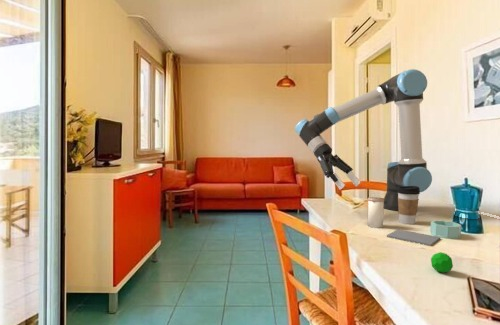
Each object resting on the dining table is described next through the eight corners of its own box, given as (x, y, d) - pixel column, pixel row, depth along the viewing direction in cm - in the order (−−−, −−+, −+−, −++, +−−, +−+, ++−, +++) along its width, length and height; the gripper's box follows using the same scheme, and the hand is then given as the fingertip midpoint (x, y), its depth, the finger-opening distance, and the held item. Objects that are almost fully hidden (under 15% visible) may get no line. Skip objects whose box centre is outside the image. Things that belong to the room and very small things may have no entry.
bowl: (434, 230, 124) (435, 219, 124) (462, 235, 118) (463, 223, 117) (427, 235, 117) (428, 223, 117) (456, 241, 111) (457, 228, 111)
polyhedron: (444, 276, 81) (445, 258, 81) (426, 269, 86) (426, 251, 86) (456, 273, 84) (457, 255, 83) (438, 266, 88) (439, 249, 88)
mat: (398, 230, 123) (398, 229, 123) (440, 238, 113) (440, 237, 113) (386, 236, 115) (386, 235, 115) (430, 246, 105) (430, 244, 105)
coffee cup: (421, 225, 130) (423, 188, 129) (398, 224, 132) (400, 187, 131) (415, 220, 138) (416, 185, 137) (393, 219, 140) (395, 184, 139)
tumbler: (370, 223, 133) (371, 196, 133) (385, 226, 129) (386, 198, 128) (364, 225, 129) (365, 198, 128) (379, 228, 125) (380, 200, 124)
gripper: (329, 153, 156) (358, 188, 147) (298, 155, 138) (329, 194, 129) (339, 142, 152) (370, 177, 142) (309, 142, 134) (342, 182, 125)
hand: (350, 186), depth 135 cm, fingers open, 13 cm apart
